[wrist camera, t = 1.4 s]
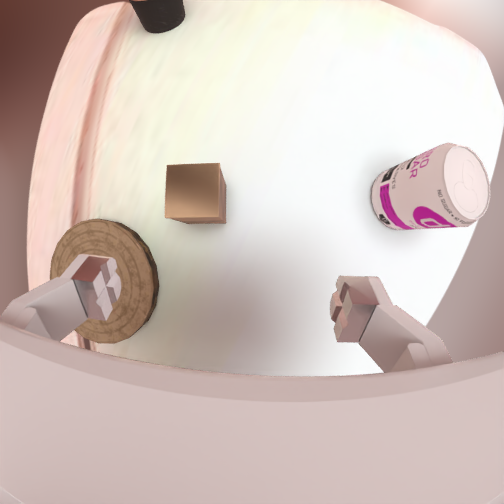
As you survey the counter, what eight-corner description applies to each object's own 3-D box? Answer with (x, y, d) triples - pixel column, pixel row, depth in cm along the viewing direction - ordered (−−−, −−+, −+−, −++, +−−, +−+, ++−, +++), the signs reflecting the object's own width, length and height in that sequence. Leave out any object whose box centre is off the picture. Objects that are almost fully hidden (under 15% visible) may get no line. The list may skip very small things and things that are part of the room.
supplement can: (411, 238, 34) (488, 238, 19) (362, 217, 34) (432, 205, 19) (422, 184, 34) (495, 163, 19) (375, 161, 34) (441, 123, 19)
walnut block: (226, 223, 33) (218, 216, 23) (187, 224, 33) (164, 217, 23) (226, 185, 33) (219, 162, 23) (188, 185, 33) (166, 165, 23)
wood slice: (184, 272, 34) (178, 275, 31) (121, 358, 34) (112, 366, 31) (98, 196, 33) (87, 193, 30) (47, 284, 33) (35, 287, 30)
